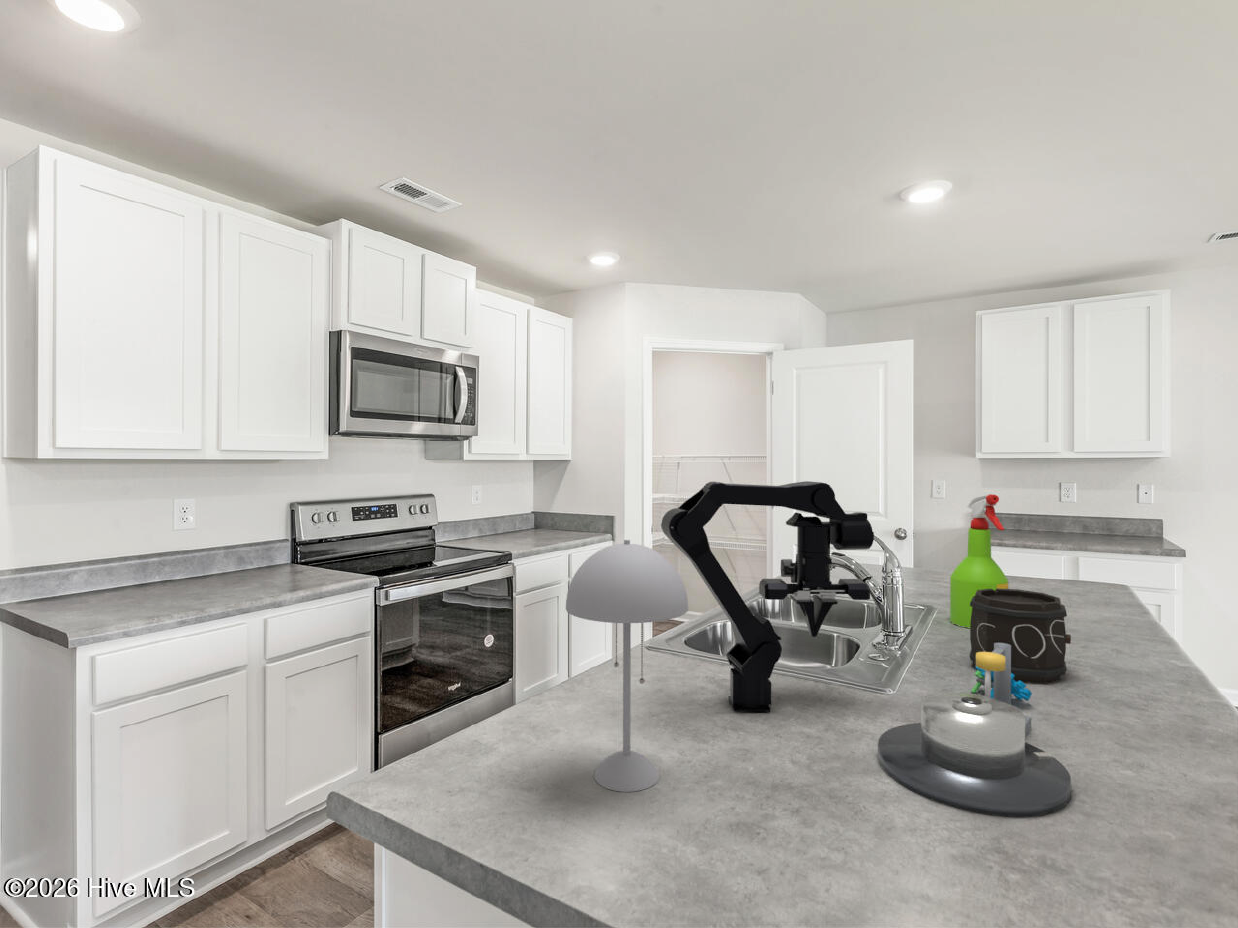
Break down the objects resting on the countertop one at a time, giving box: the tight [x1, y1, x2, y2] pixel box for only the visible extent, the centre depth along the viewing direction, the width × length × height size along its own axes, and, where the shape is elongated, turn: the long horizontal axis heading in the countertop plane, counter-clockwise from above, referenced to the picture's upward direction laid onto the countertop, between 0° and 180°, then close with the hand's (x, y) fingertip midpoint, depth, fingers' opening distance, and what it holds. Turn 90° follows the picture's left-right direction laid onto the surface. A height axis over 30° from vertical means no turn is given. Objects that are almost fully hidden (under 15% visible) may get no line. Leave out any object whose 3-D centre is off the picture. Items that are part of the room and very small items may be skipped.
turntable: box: [877, 722, 1072, 818], centre depth 94 cm, size 24×24×2 cm
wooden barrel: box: [969, 588, 1072, 685], centre depth 138 cm, size 18×18×16 cm
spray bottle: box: [949, 493, 1009, 628], centre depth 174 cm, size 14×18×35 cm
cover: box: [920, 691, 1026, 780], centre depth 94 cm, size 13×13×8 cm
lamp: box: [565, 539, 689, 793], centre depth 92 cm, size 17×17×33 cm
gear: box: [970, 665, 1033, 702], centre depth 121 cm, size 11×6×10 cm
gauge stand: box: [976, 643, 1032, 738], centre depth 106 cm, size 13×7×14 cm, turn 137°
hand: (813, 636), depth 120 cm, fingers closed
